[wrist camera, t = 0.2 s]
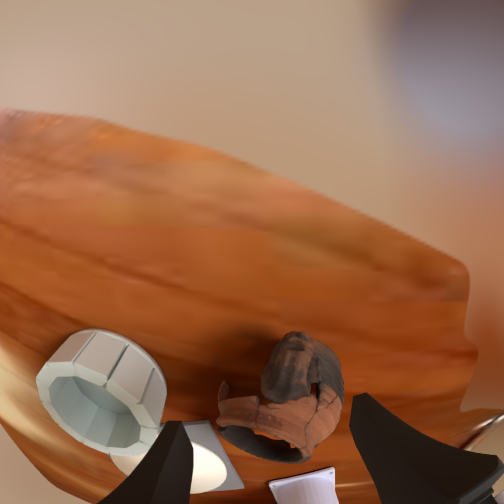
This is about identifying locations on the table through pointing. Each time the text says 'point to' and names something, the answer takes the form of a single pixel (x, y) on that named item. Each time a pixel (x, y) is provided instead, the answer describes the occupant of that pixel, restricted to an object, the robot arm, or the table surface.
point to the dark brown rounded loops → (287, 402)
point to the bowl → (104, 392)
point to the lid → (204, 472)
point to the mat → (208, 438)
